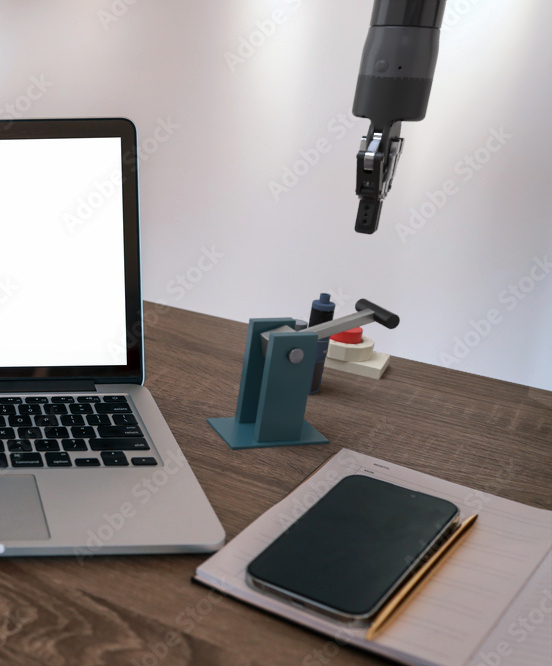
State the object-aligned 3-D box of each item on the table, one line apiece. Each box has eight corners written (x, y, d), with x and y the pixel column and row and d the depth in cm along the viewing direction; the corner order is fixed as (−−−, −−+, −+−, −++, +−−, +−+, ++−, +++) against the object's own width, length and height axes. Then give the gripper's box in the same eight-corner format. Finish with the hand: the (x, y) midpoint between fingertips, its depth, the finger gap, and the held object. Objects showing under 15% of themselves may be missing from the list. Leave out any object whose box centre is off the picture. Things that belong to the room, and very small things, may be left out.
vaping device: (310, 404, 84) (329, 299, 80) (269, 388, 88) (286, 286, 84) (323, 399, 86) (342, 295, 82) (283, 383, 89) (299, 283, 85)
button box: (387, 370, 95) (393, 340, 94) (377, 387, 90) (383, 355, 88) (305, 351, 100) (310, 322, 98) (291, 366, 95) (296, 335, 93)
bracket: (295, 423, 79) (314, 314, 75) (327, 451, 74) (349, 335, 70) (204, 429, 77) (219, 317, 73) (230, 458, 72) (248, 339, 68)
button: (363, 340, 94) (366, 326, 93) (356, 348, 91) (359, 334, 91) (333, 333, 96) (335, 320, 95) (325, 341, 93) (328, 327, 92)
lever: (368, 314, 76) (367, 291, 75) (400, 331, 72) (399, 307, 71) (255, 350, 75) (252, 328, 74) (281, 370, 70) (278, 347, 69)
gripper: (424, 75, 76) (389, 247, 82) (441, 76, 87) (409, 228, 93) (345, 70, 80) (317, 236, 85) (371, 72, 90) (345, 219, 96)
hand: (365, 231), depth 89 cm, fingers closed
